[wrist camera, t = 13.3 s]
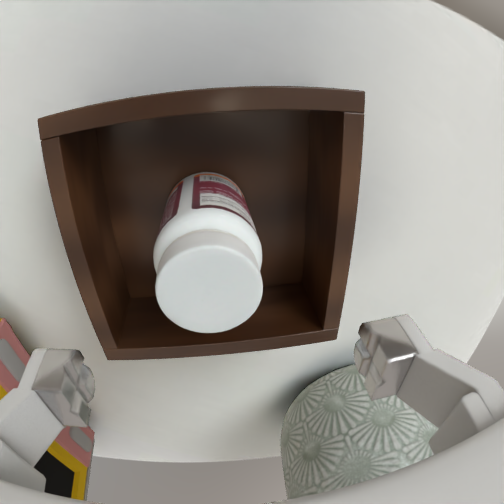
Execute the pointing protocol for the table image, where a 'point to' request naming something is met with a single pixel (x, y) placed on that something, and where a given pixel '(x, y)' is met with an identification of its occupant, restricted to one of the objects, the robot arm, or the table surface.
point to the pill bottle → (207, 256)
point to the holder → (231, 166)
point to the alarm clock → (65, 444)
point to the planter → (348, 435)
